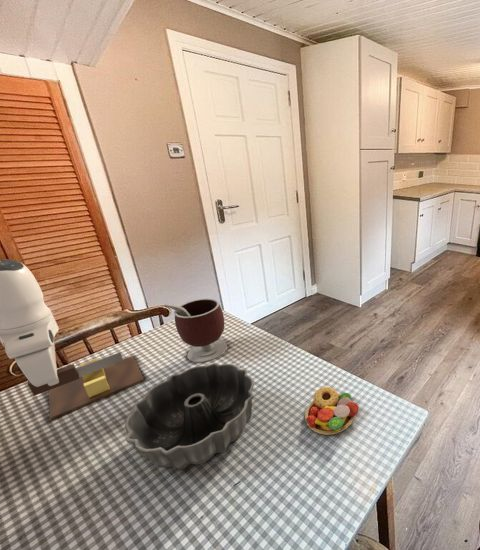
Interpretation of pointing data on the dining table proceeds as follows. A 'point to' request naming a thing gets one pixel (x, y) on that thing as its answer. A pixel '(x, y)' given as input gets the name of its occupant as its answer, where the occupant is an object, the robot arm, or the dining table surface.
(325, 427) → the toy food set
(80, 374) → the knife
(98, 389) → the butter pat
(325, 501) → the dining table surface
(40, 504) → the dining table surface
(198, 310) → the mate gourd
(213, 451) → the bundt pan
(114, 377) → the butter board
